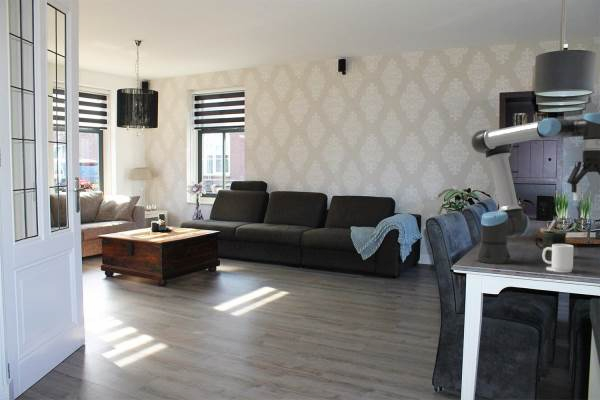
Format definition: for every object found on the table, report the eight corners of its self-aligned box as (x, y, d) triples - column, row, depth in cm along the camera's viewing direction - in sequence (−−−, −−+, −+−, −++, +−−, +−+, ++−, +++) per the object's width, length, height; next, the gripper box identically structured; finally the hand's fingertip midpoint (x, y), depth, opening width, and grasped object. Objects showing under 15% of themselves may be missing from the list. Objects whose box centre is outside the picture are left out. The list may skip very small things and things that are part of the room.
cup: (572, 271, 215) (573, 247, 214) (541, 268, 221) (542, 245, 220) (572, 267, 222) (573, 244, 222) (542, 265, 228) (542, 242, 227)
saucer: (553, 272, 216) (554, 270, 216) (541, 268, 226) (541, 266, 226) (576, 272, 217) (576, 270, 217) (563, 267, 227) (563, 265, 227)
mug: (564, 258, 249) (565, 234, 249) (532, 255, 258) (532, 232, 257) (567, 255, 258) (568, 232, 257) (536, 252, 267) (537, 230, 266)
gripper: (569, 149, 210) (567, 200, 212) (627, 149, 211) (625, 200, 213) (559, 150, 218) (557, 199, 219) (615, 150, 219) (613, 199, 220)
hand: (591, 200), depth 216 cm, fingers open, 13 cm apart
